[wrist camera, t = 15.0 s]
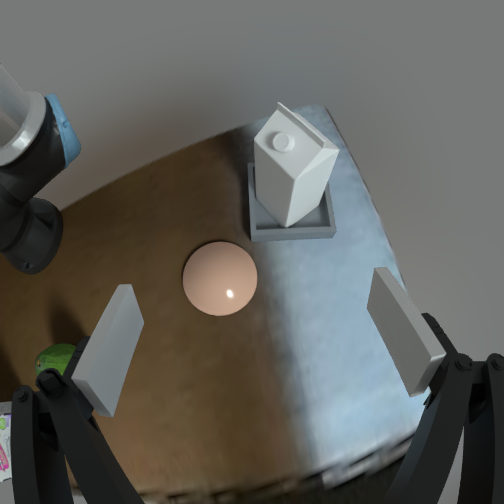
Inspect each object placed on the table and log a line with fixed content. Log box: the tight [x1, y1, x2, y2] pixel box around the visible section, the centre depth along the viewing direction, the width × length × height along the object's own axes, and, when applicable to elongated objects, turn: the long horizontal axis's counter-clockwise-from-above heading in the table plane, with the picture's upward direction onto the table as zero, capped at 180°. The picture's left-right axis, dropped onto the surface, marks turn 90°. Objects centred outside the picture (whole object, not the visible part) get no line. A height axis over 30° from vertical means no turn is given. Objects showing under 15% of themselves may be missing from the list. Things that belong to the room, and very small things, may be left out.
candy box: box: [0, 401, 12, 482], centre depth 27 cm, size 14×6×16 cm, turn 176°
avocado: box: [35, 343, 76, 376], centre depth 34 cm, size 8×8×12 cm
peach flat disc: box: [183, 242, 257, 316], centre depth 43 cm, size 11×11×1 cm
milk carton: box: [254, 102, 339, 229], centre depth 37 cm, size 7×7×19 cm
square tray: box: [247, 163, 336, 242], centre depth 45 cm, size 13×13×3 cm
